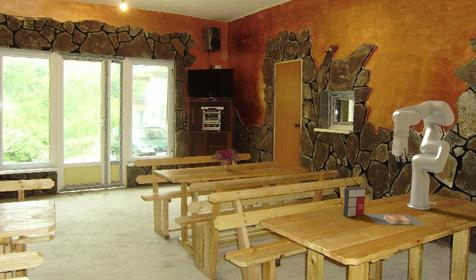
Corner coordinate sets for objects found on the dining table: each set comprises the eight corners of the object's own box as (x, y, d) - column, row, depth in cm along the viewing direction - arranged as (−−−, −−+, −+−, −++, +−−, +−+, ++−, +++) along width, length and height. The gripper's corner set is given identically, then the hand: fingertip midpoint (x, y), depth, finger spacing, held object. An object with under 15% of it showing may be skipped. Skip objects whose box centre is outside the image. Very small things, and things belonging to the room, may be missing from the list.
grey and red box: (347, 217, 218) (349, 189, 216) (342, 215, 222) (344, 187, 220) (364, 216, 222) (366, 188, 220) (359, 214, 226) (361, 187, 224)
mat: (408, 216, 225) (408, 214, 225) (425, 227, 207) (425, 225, 206) (364, 214, 225) (364, 213, 225) (377, 225, 206) (377, 223, 206)
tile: (403, 215, 216) (410, 220, 207) (402, 219, 216) (410, 224, 207) (384, 215, 216) (390, 220, 207) (383, 218, 216) (390, 223, 207)
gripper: (388, 133, 229) (386, 166, 231) (400, 136, 214) (397, 171, 216) (402, 133, 229) (400, 166, 231) (414, 136, 214) (411, 171, 216)
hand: (398, 168), depth 224 cm, fingers closed
